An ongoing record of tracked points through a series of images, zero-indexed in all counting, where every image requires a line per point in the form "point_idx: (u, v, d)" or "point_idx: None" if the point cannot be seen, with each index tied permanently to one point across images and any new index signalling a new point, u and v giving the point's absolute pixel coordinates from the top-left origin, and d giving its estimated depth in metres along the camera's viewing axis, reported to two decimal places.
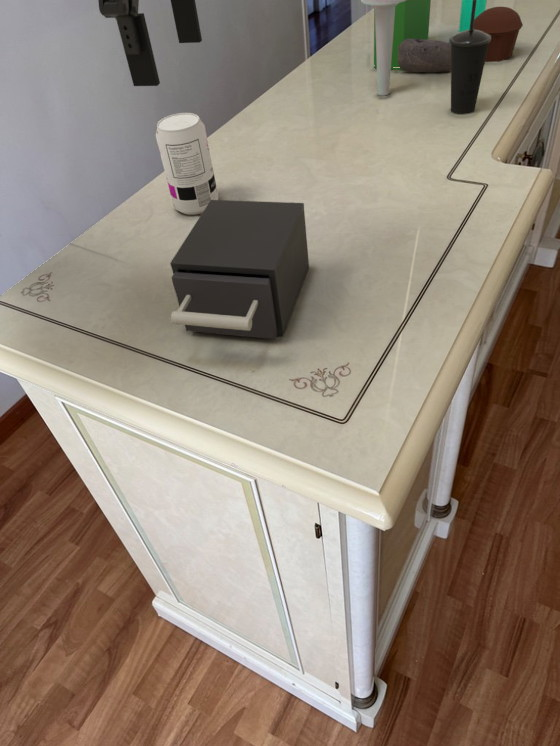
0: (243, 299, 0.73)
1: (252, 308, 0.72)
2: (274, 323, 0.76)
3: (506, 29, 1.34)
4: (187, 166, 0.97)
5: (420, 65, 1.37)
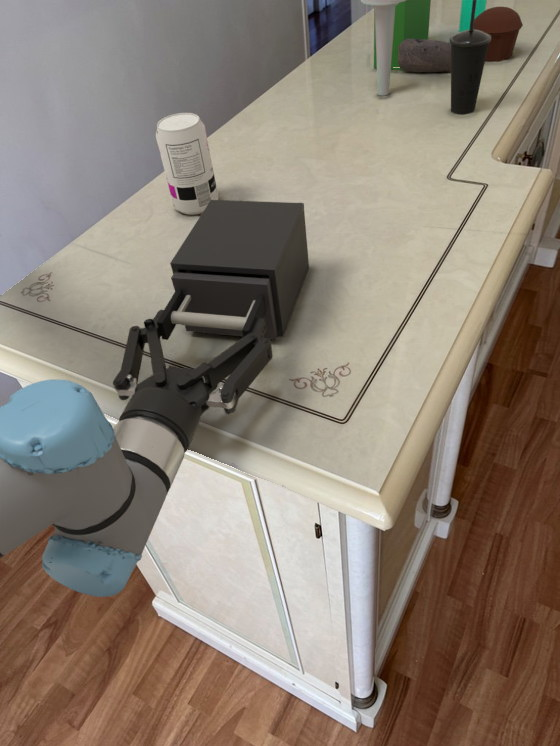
0: (243, 299, 0.73)
1: None
2: (274, 323, 0.76)
3: (505, 29, 1.34)
4: (187, 166, 0.97)
5: (420, 65, 1.37)
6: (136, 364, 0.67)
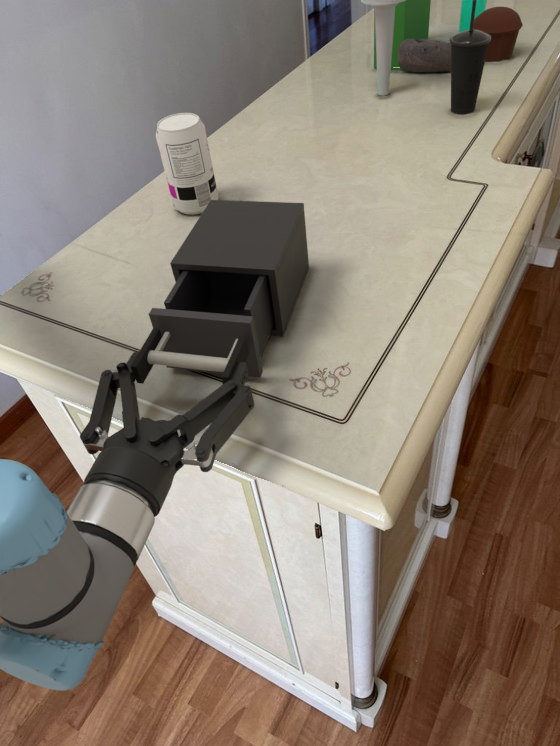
0: (225, 337, 0.68)
1: None
2: (259, 362, 0.71)
3: (505, 29, 1.34)
4: (187, 166, 0.97)
5: (420, 65, 1.37)
6: (107, 413, 0.62)
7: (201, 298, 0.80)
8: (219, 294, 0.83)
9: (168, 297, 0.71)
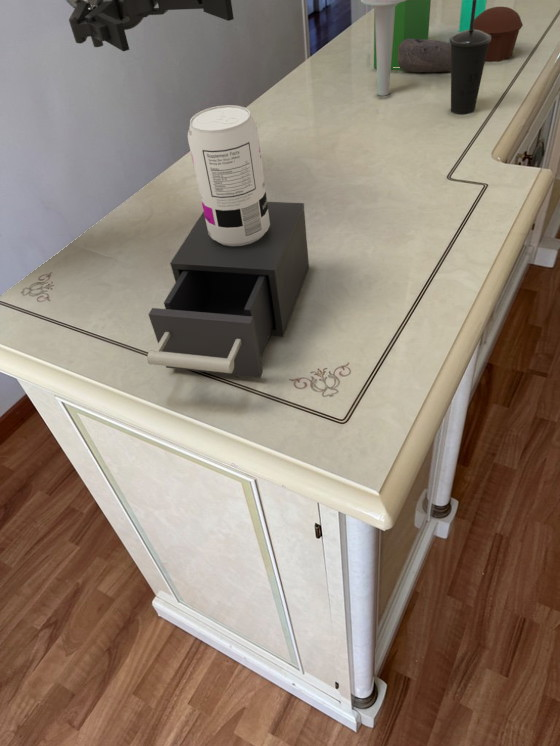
0: (225, 337, 0.68)
1: (234, 348, 0.67)
2: (259, 362, 0.71)
3: (505, 29, 1.34)
4: (232, 181, 0.68)
5: (420, 65, 1.37)
6: None
7: (201, 298, 0.80)
8: (219, 294, 0.83)
9: (168, 297, 0.71)
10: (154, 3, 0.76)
